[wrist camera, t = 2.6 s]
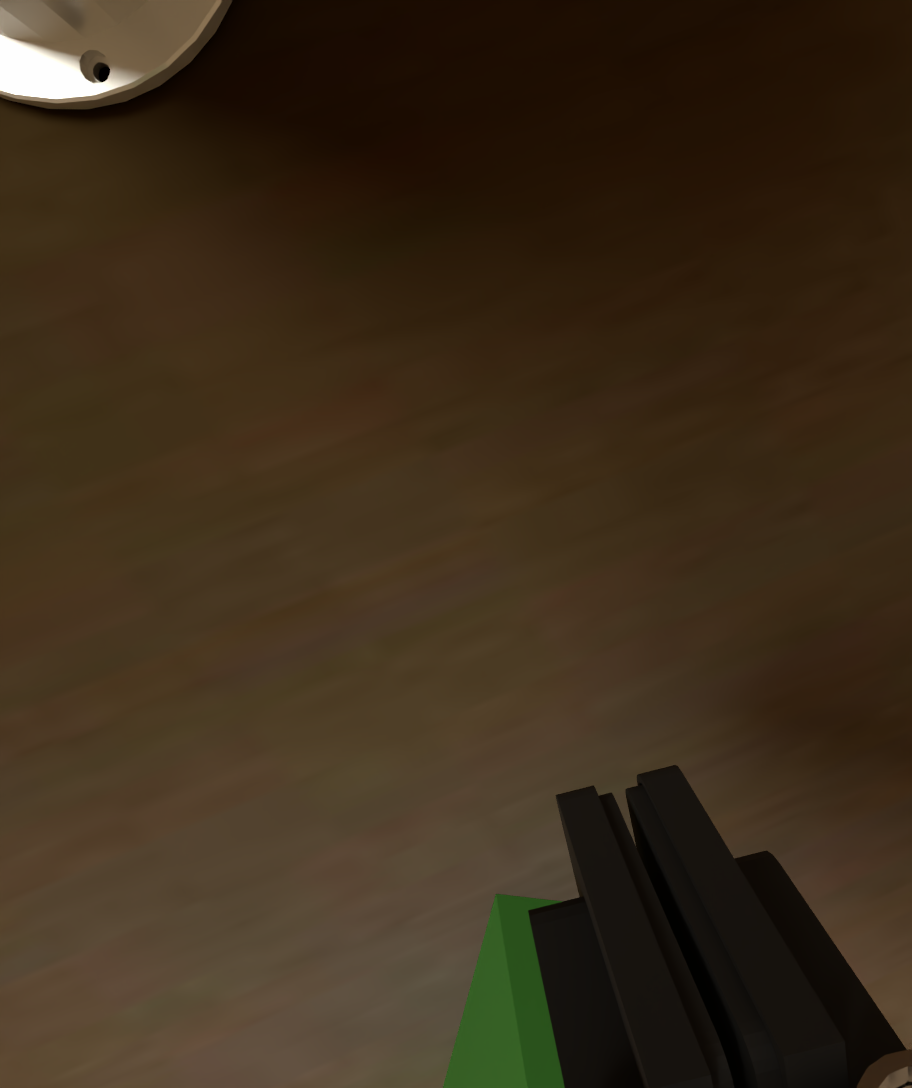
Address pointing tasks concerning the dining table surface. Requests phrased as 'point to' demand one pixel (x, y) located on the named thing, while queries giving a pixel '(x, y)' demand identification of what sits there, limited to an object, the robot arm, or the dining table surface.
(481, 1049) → the hardback book
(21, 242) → the dining table surface
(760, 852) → the robot arm
